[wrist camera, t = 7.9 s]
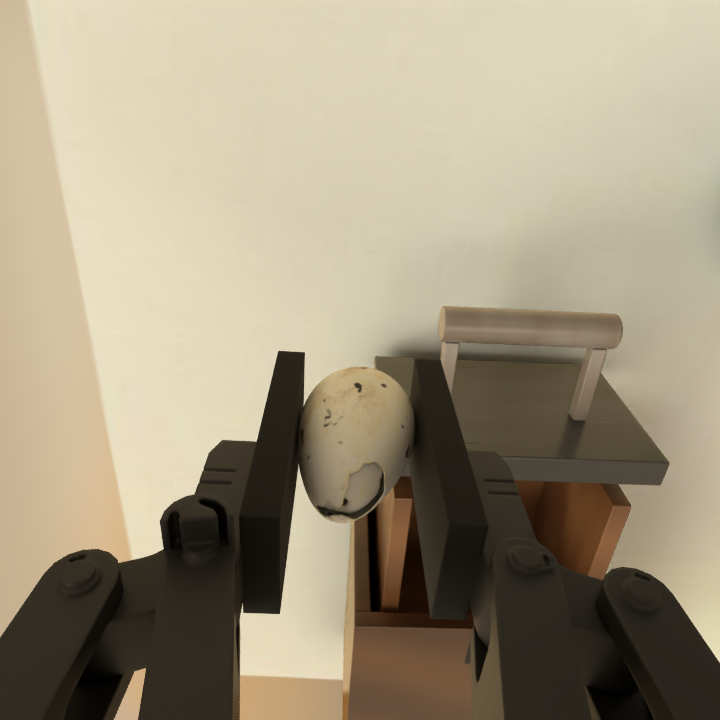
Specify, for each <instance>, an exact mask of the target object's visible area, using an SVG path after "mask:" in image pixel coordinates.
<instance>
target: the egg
mask: <svg viewBox="0 0 720 720" xmlns="http://www.w3.org/2000/svg"><path fill="white" fill-rule="evenodd" d="M415 431H416V425H415V416H414V411H413V407H412V405H411V402H410V400H409V398H408V396H407V394H406V393H405V391H404V390H403V388H402V387H401V386H400V385H399V384H398V383H397V382H396V381H395V380H394V379H393V378H392V377H390V376H389V375H387V374H385V373H383V372H381V371H379V370H376V369H373V368H368V367H350V368H346V369H342V370H339V371H337V372H335V373H333V374H331V375H329V376H328V377H326V378H325V379H324V380H323V381H321V382H320V383H319V384H318V385H317V386H316V387H315V389H314V390H313V391H312V393H311V394H310V396H309V397H308V399H307V401H306V403H305V405H304V407H303V410H302V413H301V416H300V420H299V426H298V436H297V452H298V461H299V467H300V473H301V477H302V480H303V484H304V487H305V490H306V492H307V494H308V497H309V499H310V501H311V503H312V504H313V506H314V507H315V509H316V510H317V511H318V512H319V513H320V514H321V515H322V516H323V517H325V518H326V519H328V520H330V521H333V522H337V523H348V522H352V521H355V520H357V519H360V518H362V517H363V516H365V515H366V514H368V513H369V512H370V511H372V510H373V509H374V508H375V507H376V506H377V505H378V504H379V503H380V502H381V501H382V500H383V499H384V498H385V497H386V496H387V495H388V493H389V492H390V491H391V489H392V488H393V487H394V485H395V484H396V483H397V481H398V480H399V478H400V476H401V475H402V473H403V471H404V469H405V467H406V465H407V463H408V461H409V458H410V455H411V453H412V449H413V445H414V440H415Z"/></svg>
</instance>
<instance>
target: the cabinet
mask: <svg viewBox="0 0 720 720" xmlns="http://www.w3.org/2000/svg"><path fill="white" fill-rule="evenodd" d="M374 516H375V508H374V509H373V510H372V511H370V512H369V513H368V514H366V515H365V516H363V517H362V518H360V519H357V520H355V521H352V522H351V534H350V550H349V565H348V581H347V596H346V612H345V627H344V662H343V720H472V685H471V661H470V664H465V663H464V662H465V658H466V653H467V649H468V645H469V641H470V637H471V633H472V630H473V626H474V619H473V615H467V618H466V620H453V619H431V617H430V614H425V613H386V612H374V604H373V578H372V551H371V549H372V538H373V527H374Z"/></svg>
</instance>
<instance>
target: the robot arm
mask: <svg viewBox="0 0 720 720" xmlns="http://www.w3.org/2000/svg"><path fill="white" fill-rule="evenodd" d="M304 363H305V352H287V351H278V355H277V359H276V363H275V368H274V372H273V376H272V380H271V384H270V389H269V393H268V397H267V401H266V405H265V410H264V414H263V418H262V422H261V426H260V430H259V435H258V439H257V442H251V441H229V440H222V441H221V442H220V443H219V444H218V445H217V446H216V447H215V448H214V449H213V450H212V451H211V452H210V453H209V455H208V458H207V460H206V463H205V466H204V471H203V472H202V475H201V478H200V482H199V484H198V486H197V489H196V492H195V495H190V496H186V497H184V498H182V499H180V500H178V501H175V502H174V503H173V504H171V505H170V506H169V507H168V508H167V509H166V510H165V511H164V513H163V515H162V518H161V520H160V525H161V532H162V539H163V547H164V550H162V551H160V552H158V553H156V554H154V555H150V556H147V557H144V558H140V559H136V560H131V561H127V562H122V563H118V560H117V559H116V558H115V557H114V556H113V555H112V554H110V553H109V552H106V551H102V550H99V549H91V550H81V551H78V552H75V553H72V554H69V555H67V556H65V557H63V558H62V559H60V560H59V561H57V562H55V563H54V564H53V565H52V566H51V567H50V568H49V569H48V570H47V571H46V572H45V573H44V575H43V576H42V578H41V579H40V580H39V582H38V583H37V585H36V586H35V588H34V589H33V591H32V592H31V594H30V595H29V597H28V598H27V599H26V601H25V602H24V604H23V605H22V607H21V608H20V610H19V611H18V613H17V614H16V615H15V617H14V618H13V620H12V621H11V623H10V624H9V626H8V627H7V629H6V630H5V632H4V633H3V635H2V636H1V638H0V720H114V718H115V715H116V713H117V711H118V708H119V706H120V704H121V701H122V699H123V697H124V694H125V692H126V690H127V688H128V685H129V683H130V681H131V678H132V676H133V674H134V671H137V670H140V669H143V668H146V673H145V679H144V686H143V692H142V698H141V705H140V711H139V717H138V720H239V718H240V716H239V714H240V713H239V712H240V708H239V707H240V703H239V702H240V621H239V619H240V614H241V609H242V603H243V613H266V614H280V608H281V600H282V592H283V584H284V576H285V568H286V560H287V552H288V544H289V536H290V528H291V520H292V512H293V504H294V496H295V488H296V480H297V472H298V464H299V461H298V452H297V436H298V426H299V420H300V416H301V413H302V410H303V404H304ZM409 400H410V402H411V405H412V407H413V411H414V416H415V425H416V431H415V440H414V445H413V449H412V453H411V455H410V458H409V467H410V475H411V482H412V489H413V496H414V503H415V510H416V517H417V524H418V532H419V539H420V546H421V553H422V560H423V567H424V574H425V581H426V589H427V596H428V603H429V610H430V617H431V619H453V620H466V618H467V614H468V609H469V605H471V610H472V615H473V619H474V626H473V630H472V633H471V637H470V641H469V645H468V649H467V653H466V658H465V662H464V663H465V664H470V661H471V685H472V720H720V663H719V661H718V660H717V658H716V657H715V656H714V654H713V653H712V651H711V650H710V648H709V647H708V645H707V644H706V642H705V641H704V639H703V638H702V636H701V635H700V633H699V632H698V631H697V629H696V628H695V626H694V625H693V623H692V622H691V620H690V619H689V617H688V616H687V614H686V613H685V611H684V610H683V608H682V607H681V605H680V604H679V603H678V601H677V600H676V598H675V597H674V595H673V594H672V593H671V592H670V591H669V589H668V588H667V587H666V586H665V585H664V584H663V583H662V582H660V581H659V580H657V579H656V578H654V577H653V576H652V575H650V574H648V573H645V572H643V571H640V570H638V569H634V568H626V567H621V568H616V569H612V570H611V571H610V572H608V573H607V574H606V575H605V577H604V579H603V580H600V579H597V578H594V577H591V576H587V575H584V574H581V573H577V572H574V571H572V570H569V569H567V568H565V567H563V566H561V565H560V564H558V562H557V559H556V557H555V556H554V555H553V554H552V553H551V552H550V551H549V550H548V549H547V547H545V546H543V545H542V544H540V543H538V541H537V539H536V536H535V533H534V531H533V528H532V526H531V523H530V520H529V518H528V515H527V512H526V510H525V507H524V504H523V502H522V499H521V497H520V496H519V491H518V489H517V486H516V483H514V478H513V476H512V473H511V470H510V468H509V465H508V464H507V463H506V462H505V461H504V460H503V459H502V458H501V457H500V456H499V455H498V454H497V453H496V452H495V451H474V450H467V449H466V446H465V442H464V439H463V435H462V432H461V429H460V425H459V422H458V418H457V415H456V411H455V408H454V404H453V401H452V397H451V394H450V391H449V387H448V384H447V380H446V377H445V373H444V370H443V366H442V363H441V360H435V359H417V358H415V361H414V369H413V376H412V384H411V391H410V399H409Z"/></svg>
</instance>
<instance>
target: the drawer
mask: <svg viewBox="0 0 720 720" xmlns="http://www.w3.org/2000/svg"><path fill="white" fill-rule="evenodd" d="M438 330H439V338H440V340H441V341H443V343H442V350H441V357H440V359H435V360H441V363H442V366H443V370H444V373H445V377H446V380H447V384H448V387H449V391H450V394H451V397H452V401H453V404H454V408H455V411H456V415H457V418H458V422H459V425H460V429H461V432H462V435H463V439H464V442H465V446H466V449H467V450H474V451H495V452H496V453H497V454H498V455H499V456H500V457H501V458H502V459H503V460H504V461H505V462H506V463H507V464H508V465H509V468H510V470H511V473H512V476H513V478H514V483H516V486H517V489H518V491H519V496H520V497H521V499H522V502H523V504H524V507H525V510H526V512H527V515H528V518H529V520H530V523H531V526H532V528H533V531H534V533H535V536H536V539H537V541H538V543H540V544H542V545H543V546H545V547H547V549H548V550H549V551H550V552H551V553H552V554H553V555H554V556H555V557H556V559H557V562H558V564H560V565H561V566H563V567H565V568H567V569H569V570H572V571H574V572H577V573H581V574H584V575H587V576H591V577H594V578H597V579H600V580H603V579H604V576H605V574H606V571H607V569H608V566H609V563H610V561H611V558H612V556H613V553H614V550H615V548H616V545H617V543H618V540H619V538H620V535H621V532H622V530H623V527H624V525H625V522H626V520H627V517H628V514H629V512H630V509H631V504H630V503H629V501H628V500H627V498H626V496H625V495H624V493H623V491H622V490H621V488H620V486H619V485H618V484H632V485H661V483H662V481H663V478H664V476H665V474H666V471H667V469H668V466H669V461H668V460H667V459H666V457H665V456H664V455H663V454H662V452H661V451H660V450H659V448H658V447H657V446H656V444H655V443H654V442H653V441H652V439H651V438H650V437H649V435H648V434H647V433H646V431H645V430H644V429H643V427H642V426H641V425H640V424H639V422H638V421H637V420H636V418H635V417H634V416H633V414H632V413H631V412H630V410H629V409H628V408H627V407H626V405H625V404H624V403H623V401H622V400H621V399H620V397H619V396H618V395H617V394H616V392H615V391H614V390H613V388H612V387H611V386H610V384H609V383H608V382H607V380H606V379H605V378H604V377H603V375H602V374H601V373H600V372H601V369H602V366H603V362H604V359H605V356H606V353H607V350H606V349H614V348H616V347H617V346H618V345H619V343H620V341H621V338H622V332H623V327H622V321H621V319H620V317H619V316H618V315H616V314H604V313H583V312H561V311H539V310H518V309H496V308H474V307H453V306H443V307H442V308H441V311H440V315H439V326H438ZM459 342H466V343H489V344H512V345H535V346H557V347H580V348H587V351H586V354H585V358H584V361H583V365H568V364H544V363H521V362H497V361H474V360H457V357H458V351H459ZM417 359H427V358H417ZM414 361H415V358H404V357H380V356H376V357H375V358H374V369H376V370H379V371H381V372H383V373H385V374H387V375H389V376H390V377H392V378H393V379H394V380H395V381H396V382H397V383H398V384H399V385H400V386H401V387H402V388H403V390H404V391H405V393H406V394H407V396H408V398H409V399H410V391H411V384H412V376H413V369H414ZM371 551H372V578H373V604H374V612H386V613H425V614H430V610H429V603H428V596H427V589H426V581H425V574H424V567H423V560H422V553H421V546H420V539H419V532H418V524H417V517H416V510H415V503H414V496H413V489H412V482H411V475H410V467H409V461H408V463H407V465H406V467H405V469H404V471H403V473H402V475H401V476H400V478H399V480H398V481H397V483H396V484H395V485H394V487H393V488H392V489H391V491H390V492H389V493H388V495H387V496H386V497H385V498H384V499H383V500H382V501H381V502H380V503H379V504H378V505H377V506H376V507H375V516H374V527H373V538H372V549H371ZM467 615H472V610H471V605H469V609H468V614H467Z"/></svg>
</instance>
